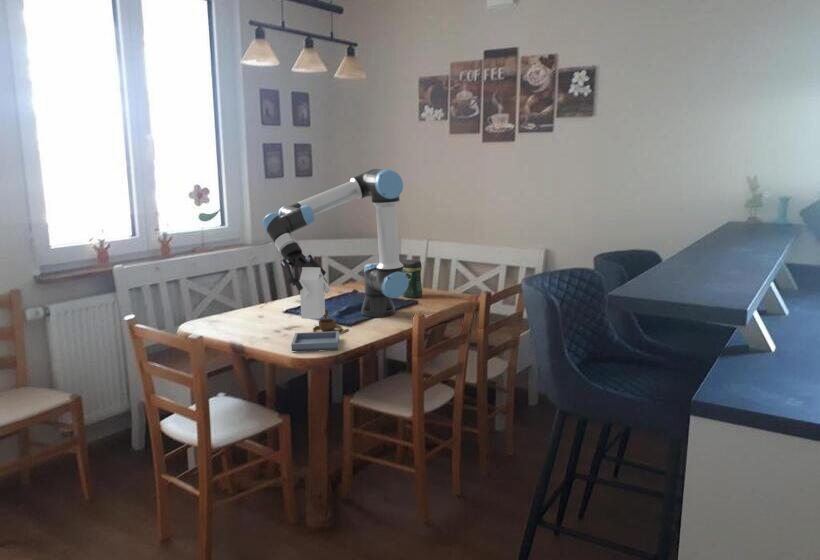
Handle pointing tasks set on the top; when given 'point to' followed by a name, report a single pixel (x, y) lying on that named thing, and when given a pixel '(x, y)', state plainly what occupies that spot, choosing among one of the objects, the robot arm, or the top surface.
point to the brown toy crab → (328, 324)
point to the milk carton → (312, 293)
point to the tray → (315, 341)
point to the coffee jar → (413, 278)
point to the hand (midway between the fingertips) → (317, 293)
